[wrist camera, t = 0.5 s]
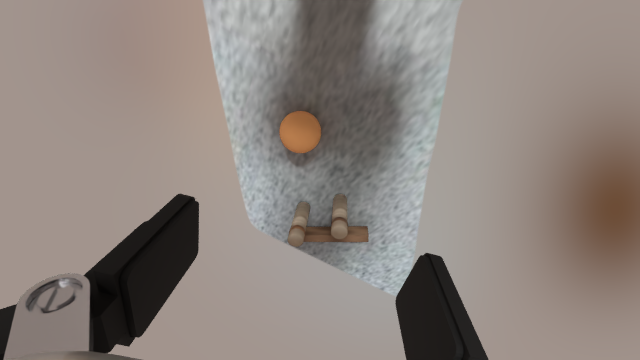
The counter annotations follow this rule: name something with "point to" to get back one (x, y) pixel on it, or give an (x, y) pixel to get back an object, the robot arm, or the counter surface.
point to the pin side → (299, 224)
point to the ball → (300, 132)
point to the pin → (339, 217)
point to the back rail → (325, 236)
